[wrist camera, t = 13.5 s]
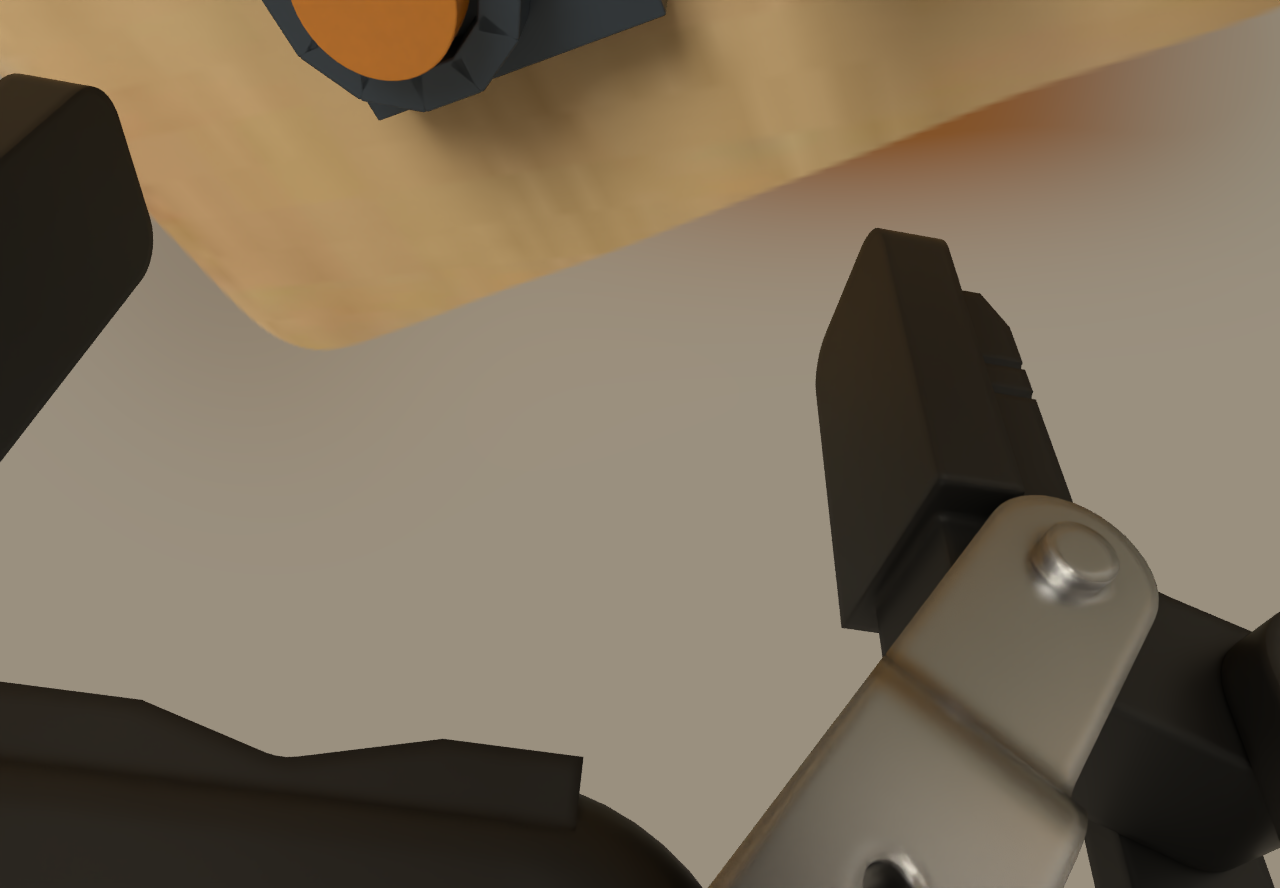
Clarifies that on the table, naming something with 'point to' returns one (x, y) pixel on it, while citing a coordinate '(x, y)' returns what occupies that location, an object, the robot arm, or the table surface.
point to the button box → (477, 47)
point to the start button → (383, 33)
